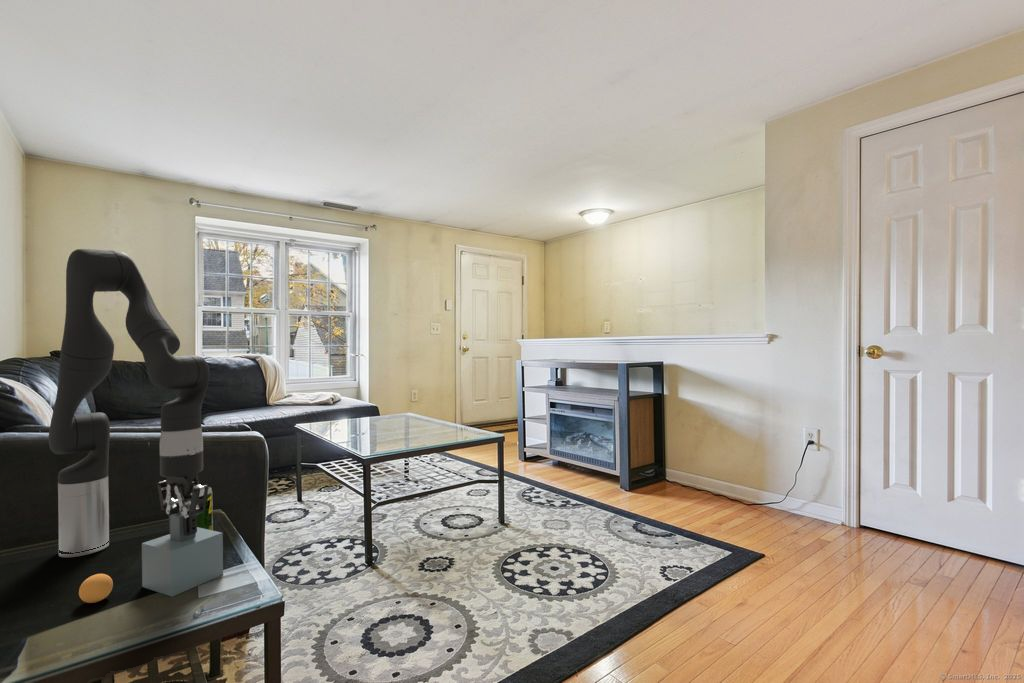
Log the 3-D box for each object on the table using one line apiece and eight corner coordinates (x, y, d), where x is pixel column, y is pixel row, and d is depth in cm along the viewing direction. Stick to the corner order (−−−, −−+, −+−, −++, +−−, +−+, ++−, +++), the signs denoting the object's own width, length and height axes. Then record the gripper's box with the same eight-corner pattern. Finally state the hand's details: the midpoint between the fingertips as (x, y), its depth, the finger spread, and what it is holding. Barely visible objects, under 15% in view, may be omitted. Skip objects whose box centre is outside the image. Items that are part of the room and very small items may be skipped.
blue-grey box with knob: (142, 586, 98) (141, 518, 99) (193, 566, 107) (192, 503, 108) (172, 596, 94) (171, 525, 94) (223, 574, 103) (222, 509, 103)
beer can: (188, 541, 122) (187, 493, 122) (188, 535, 126) (187, 489, 126) (213, 536, 125) (212, 490, 125) (212, 530, 129) (212, 485, 129)
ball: (73, 604, 92) (73, 578, 92) (104, 592, 96) (104, 567, 96) (87, 610, 90) (86, 583, 90) (118, 597, 94) (118, 571, 94)
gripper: (142, 452, 101) (143, 534, 101) (183, 457, 95) (185, 544, 94) (180, 445, 108) (181, 522, 107) (221, 449, 101) (222, 531, 101)
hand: (183, 532), depth 101 cm, fingers open, 4 cm apart
